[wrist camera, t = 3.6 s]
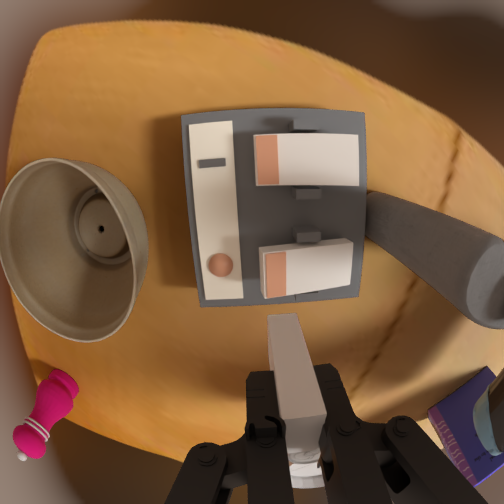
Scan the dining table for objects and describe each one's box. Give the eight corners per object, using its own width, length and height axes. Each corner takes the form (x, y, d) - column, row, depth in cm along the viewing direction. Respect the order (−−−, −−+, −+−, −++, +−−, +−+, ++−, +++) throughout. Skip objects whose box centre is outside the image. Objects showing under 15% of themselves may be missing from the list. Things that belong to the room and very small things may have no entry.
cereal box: (428, 417, 43) (466, 493, 20) (427, 409, 41) (469, 489, 18) (484, 376, 40) (531, 439, 17) (486, 365, 39) (537, 431, 16)
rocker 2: (345, 237, 24) (354, 243, 22) (342, 278, 25) (350, 285, 23) (258, 247, 22) (263, 253, 21) (260, 290, 24) (265, 299, 22)
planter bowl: (40, 231, 27) (-16, 259, 17) (101, 126, 24) (38, 118, 13) (123, 314, 31) (86, 369, 21) (204, 222, 28) (179, 261, 17)
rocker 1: (354, 136, 19) (358, 134, 18) (355, 184, 21) (359, 186, 19) (256, 136, 21) (253, 134, 19) (258, 184, 22) (255, 186, 21)
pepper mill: (46, 361, 35) (-6, 436, 16) (77, 375, 35) (28, 460, 17) (55, 386, 37) (13, 458, 18) (84, 399, 38) (46, 479, 19)
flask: (346, 236, 28) (465, 352, 9) (361, 185, 27) (515, 242, 8) (439, 263, 30) (543, 345, 11) (453, 222, 28) (570, 284, 9)
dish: (254, 454, 43) (255, 473, 38) (356, 411, 39) (364, 432, 34) (305, 478, 49) (308, 493, 44) (386, 443, 45) (392, 459, 40)
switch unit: (349, 118, 24) (375, 108, 18) (346, 280, 30) (366, 307, 24) (190, 121, 24) (174, 111, 18) (205, 289, 30) (196, 320, 24)
